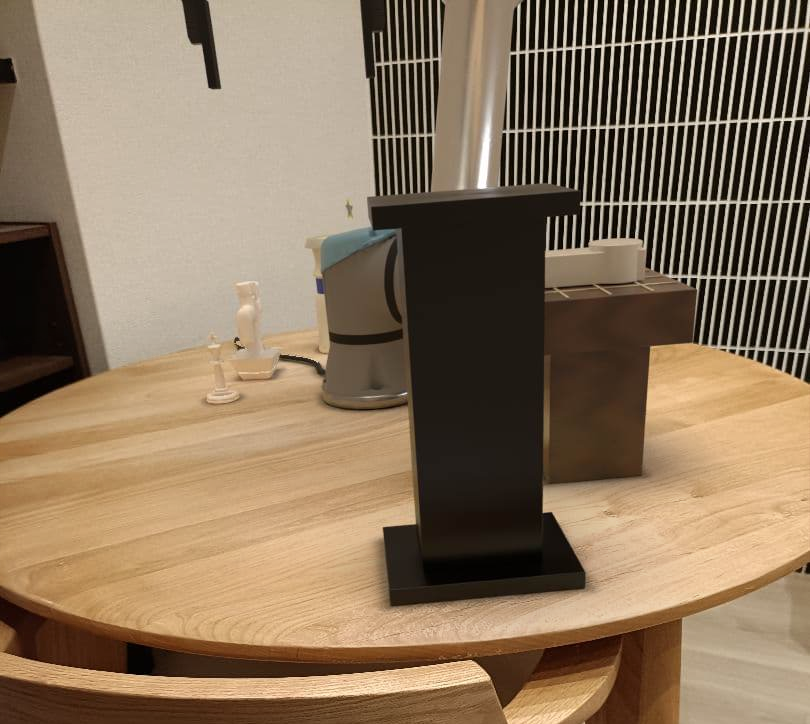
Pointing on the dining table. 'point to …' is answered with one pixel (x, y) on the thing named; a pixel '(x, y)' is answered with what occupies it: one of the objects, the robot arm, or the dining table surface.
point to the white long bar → (596, 263)
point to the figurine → (252, 335)
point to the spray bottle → (321, 285)
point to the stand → (475, 393)
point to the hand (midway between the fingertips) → (293, 83)
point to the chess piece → (219, 374)
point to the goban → (605, 371)
